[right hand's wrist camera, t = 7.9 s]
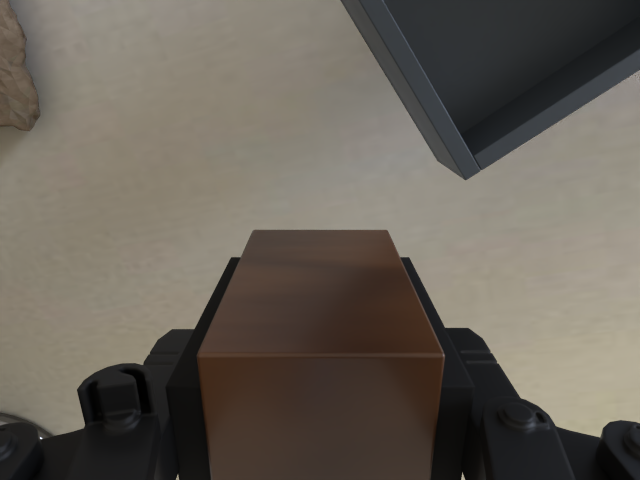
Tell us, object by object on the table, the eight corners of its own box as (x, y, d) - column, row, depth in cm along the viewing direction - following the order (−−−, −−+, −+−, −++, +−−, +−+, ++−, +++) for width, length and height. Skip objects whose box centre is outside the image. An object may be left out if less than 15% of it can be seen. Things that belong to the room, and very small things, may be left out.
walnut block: (259, 345, 16) (215, 532, 9) (252, 229, 14) (194, 354, 8) (381, 345, 16) (425, 532, 9) (388, 229, 14) (447, 354, 8)
